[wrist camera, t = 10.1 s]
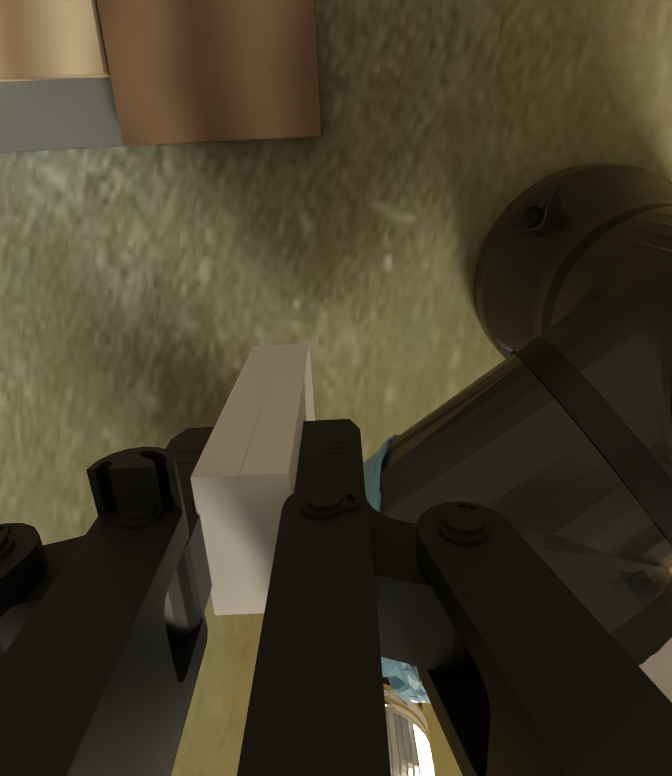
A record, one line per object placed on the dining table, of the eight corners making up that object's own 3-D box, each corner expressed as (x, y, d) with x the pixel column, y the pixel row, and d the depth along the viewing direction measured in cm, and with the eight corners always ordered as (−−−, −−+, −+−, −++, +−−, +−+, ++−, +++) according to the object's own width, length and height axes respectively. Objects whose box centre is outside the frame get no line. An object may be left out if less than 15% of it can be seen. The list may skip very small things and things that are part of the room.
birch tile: (95, -45, 31) (80, -57, 29) (116, 77, 33) (103, 73, 31) (-47, -40, 31) (-71, -52, 29) (-16, 82, 33) (-36, 78, 31)
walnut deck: (306, -147, 29) (305, -172, 27) (321, 136, 35) (321, 135, 33) (87, -136, 30) (67, -160, 27) (136, 145, 35) (123, 145, 33)
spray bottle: (263, 563, 49) (209, 925, 26) (354, 504, 47) (383, 846, 24) (332, 628, 52) (338, 1000, 29) (421, 577, 50) (502, 938, 27)
